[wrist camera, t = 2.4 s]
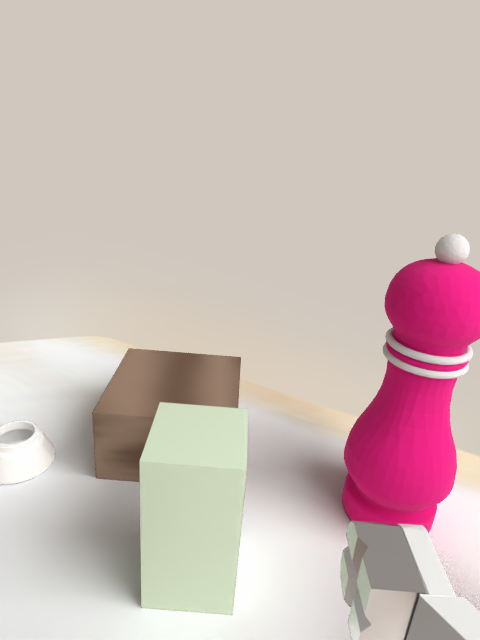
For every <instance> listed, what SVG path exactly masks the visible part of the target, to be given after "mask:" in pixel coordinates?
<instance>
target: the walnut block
mask: <svg viewBox="0 0 480 640" xmlns="http://www.w3.org/2000/svg"><path fill="white" fill-rule="evenodd" d="M240 364H241V358H240V357H231V356H218V355H206V354H193V353H180V352H168V351H155V350H142V349H130V348H129V349H128V351H127V353H126V354H125V356H124V358H123V360H122V361H121V363H120V365H119V367H118V368H117V370H116V372H115V374H114V375H113V377H112V379H111V381H110V382H109V384H108V386H107V388H106V389H105V391H104V393H103V395H102V396H101V398H100V400H99V402H98V403H97V405H96V407H95V409H94V410H93V412H92V415H93V432H94V449H95V466H96V478H97V479H110V480H123V481H136V482H140V458H141V456H142V453H143V450H144V447H145V444H146V441H147V438H148V435H149V432H150V429H151V427H152V424H153V421H154V418H155V415H156V412H157V409H158V406H159V403H160V402H165V403H177V404H190V405H203V406H215V407H228V408H238V398H239V381H240Z"/></svg>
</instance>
